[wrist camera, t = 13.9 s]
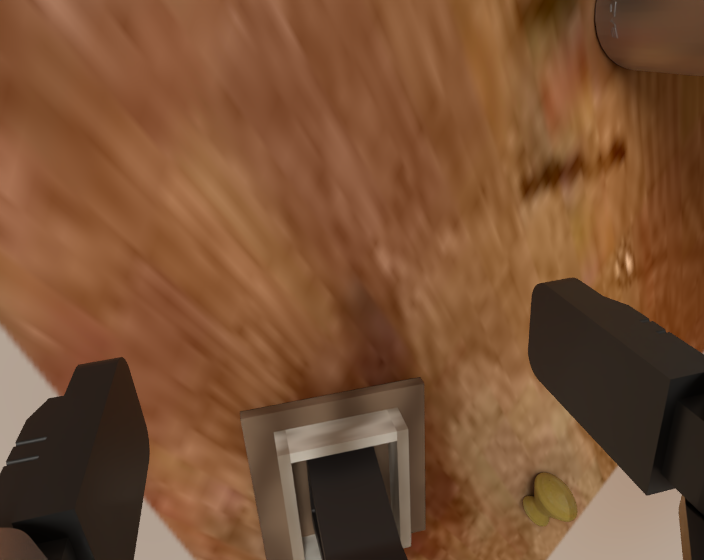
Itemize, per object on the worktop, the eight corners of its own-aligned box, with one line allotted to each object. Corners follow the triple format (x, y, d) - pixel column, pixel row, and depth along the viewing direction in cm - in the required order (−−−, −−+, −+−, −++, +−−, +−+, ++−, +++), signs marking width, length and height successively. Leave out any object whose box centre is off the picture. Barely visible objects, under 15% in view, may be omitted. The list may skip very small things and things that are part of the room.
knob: (531, 464, 57) (558, 501, 53) (566, 475, 59) (595, 511, 55) (507, 498, 58) (531, 536, 54) (542, 507, 60) (568, 545, 56)
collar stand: (420, 377, 49) (436, 404, 46) (422, 521, 57) (436, 554, 53) (239, 411, 46) (242, 443, 43) (267, 559, 54) (270, 596, 50)
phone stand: (304, 448, 48) (330, 566, 37) (370, 435, 49) (414, 546, 38) (311, 522, 52) (337, 649, 41) (373, 509, 53) (413, 629, 42)
